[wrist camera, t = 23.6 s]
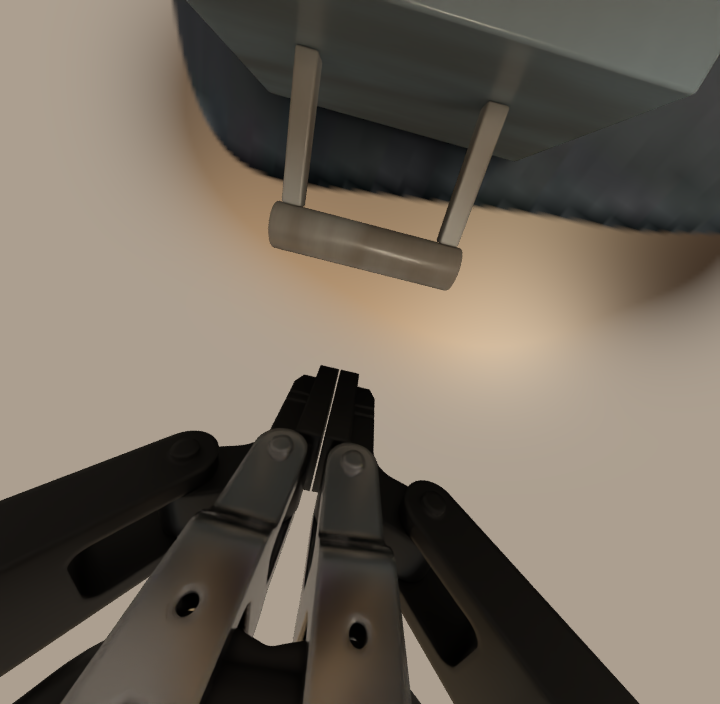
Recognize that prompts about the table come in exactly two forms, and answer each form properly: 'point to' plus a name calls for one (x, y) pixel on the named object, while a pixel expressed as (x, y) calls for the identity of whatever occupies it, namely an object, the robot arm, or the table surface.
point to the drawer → (456, 91)
